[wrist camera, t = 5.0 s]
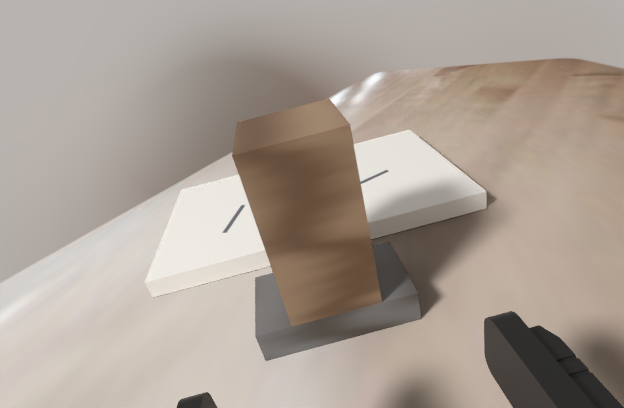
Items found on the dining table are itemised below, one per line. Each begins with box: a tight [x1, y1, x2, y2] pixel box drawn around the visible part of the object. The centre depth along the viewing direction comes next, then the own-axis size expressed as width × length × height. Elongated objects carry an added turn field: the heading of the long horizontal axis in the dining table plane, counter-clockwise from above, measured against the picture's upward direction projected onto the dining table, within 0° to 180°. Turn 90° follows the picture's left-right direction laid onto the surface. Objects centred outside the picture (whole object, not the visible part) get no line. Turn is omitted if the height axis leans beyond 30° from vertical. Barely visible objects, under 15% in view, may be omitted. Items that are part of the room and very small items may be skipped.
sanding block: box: [232, 99, 421, 361], centre depth 21 cm, size 9×5×12 cm, turn 98°
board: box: [144, 130, 487, 297], centre depth 36 cm, size 26×16×2 cm, turn 98°
